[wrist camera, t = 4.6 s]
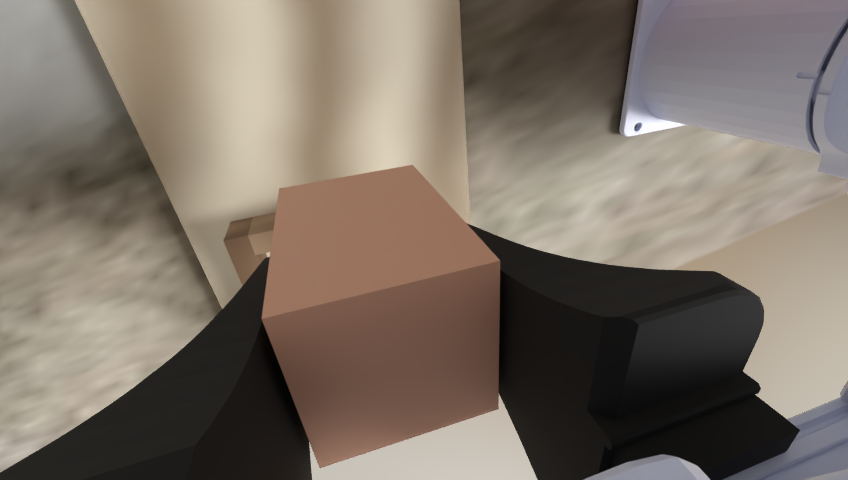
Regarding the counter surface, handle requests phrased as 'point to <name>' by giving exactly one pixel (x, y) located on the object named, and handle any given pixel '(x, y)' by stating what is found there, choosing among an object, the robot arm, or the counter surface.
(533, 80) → the counter surface
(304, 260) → the block
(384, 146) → the board
